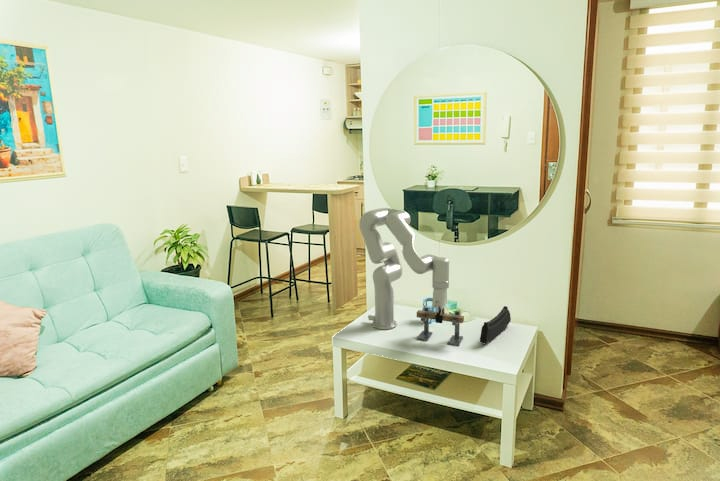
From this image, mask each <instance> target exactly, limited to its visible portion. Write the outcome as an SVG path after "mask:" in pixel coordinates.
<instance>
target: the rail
mask: <svg viewBox="0 0 720 481" xmlns="http://www.w3.org/2000/svg"><path fill="white" fill-rule="evenodd" d="M421 315H422V316H425V318H427V319H429V320H430V319H432V320H433V319H434V320H436V312H429V311H422V309H421V310H419V309H418V310H417V311H416V318H420V319H421ZM442 315H443V320H442V322H452V320H457V323H460V324H463V323H464V322H465V316H464V315H461V314H460V315H455V314H451V313H442Z"/></svg>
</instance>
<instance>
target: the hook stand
mask: <svg viewBox="0 0 720 481" xmlns="http://www.w3.org/2000/svg"><path fill="white" fill-rule="evenodd" d="M424 311H429V307H425V308H424ZM454 315H461V311H460V310H454ZM429 321H430V319H427V318H425V316H422V315H421V318H420V322H423V323H424V324H423V326H424V327H423V330H422V331H421V332H420V333H419V335H418V336H417V338H416V339H417V340H418V341H425V342H428V341H429V340H430V338H431V337H432V335H433V332H432V331H430V330H429V329H430V326H429V325H430V324H429ZM460 324H461V323H457V320H452V323H451V325H452V326H454V334H452V335H451V337H450V339H449V340H448V342H447V343H448V345H451V346H456V347H457V346H458V347H459V346H460V345H461V343H462V342H463V340H464V336H462V335H460V328H461V325H460Z"/></svg>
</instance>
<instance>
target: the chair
mask: <svg viewBox="0 0 720 481" xmlns="http://www.w3.org/2000/svg"><path fill="white" fill-rule="evenodd" d="M432 300H433V297H426V298H424V299H423V300H422V309H421V311H424V308H425V307H429V312H435V311H436V307H435V308H434V309H433V308H432V305H428V302H432ZM432 322H433V323H434V322H436V320H434V319H429V325H431V324H433V323H432Z"/></svg>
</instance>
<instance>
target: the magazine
mask: <svg viewBox="0 0 720 481" xmlns="http://www.w3.org/2000/svg"><path fill="white" fill-rule="evenodd" d="M511 318H512V317H511V312H510V310H509V308H508V306H505V305H504V306H503V307H502V309H501V311H500V312H499V313H498V314H497V315H496V316H494V317H492V318H491V319H490V320H489V321H485V322H483V325H482V327H481V332H480V337H479V343H482V344H485V345H486V344H488V343H489V342H491V341H493V340H495V339H496V338H497V337H499V335H501V334H502V333H503V331H504V330H505V329H506V328H507V326H508V325H509V324H510V323H511V320H512V319H511Z"/></svg>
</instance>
